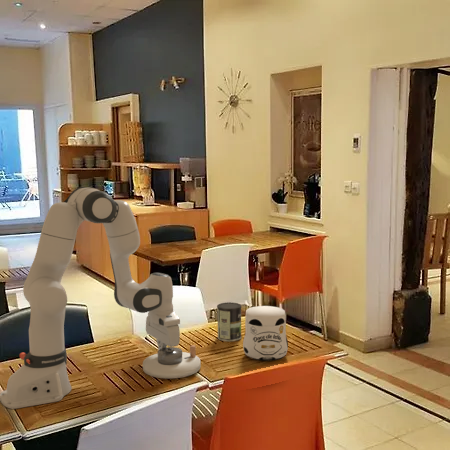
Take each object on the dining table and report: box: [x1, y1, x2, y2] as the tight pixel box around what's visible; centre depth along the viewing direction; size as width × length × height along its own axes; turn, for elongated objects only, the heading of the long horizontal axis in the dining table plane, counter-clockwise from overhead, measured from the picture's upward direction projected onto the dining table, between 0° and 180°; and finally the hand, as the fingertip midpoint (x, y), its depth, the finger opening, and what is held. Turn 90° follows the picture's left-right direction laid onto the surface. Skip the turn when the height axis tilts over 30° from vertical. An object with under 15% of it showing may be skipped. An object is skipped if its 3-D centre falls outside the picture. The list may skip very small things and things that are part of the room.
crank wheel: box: [142, 344, 202, 379], centre depth 210 cm, size 21×21×6 cm
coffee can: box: [216, 301, 242, 342], centre depth 244 cm, size 10×10×14 cm
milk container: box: [242, 305, 289, 362], centre depth 222 cm, size 17×17×18 cm
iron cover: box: [157, 346, 183, 365], centre depth 211 cm, size 9×9×5 cm
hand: (162, 351), depth 216 cm, fingers closed
